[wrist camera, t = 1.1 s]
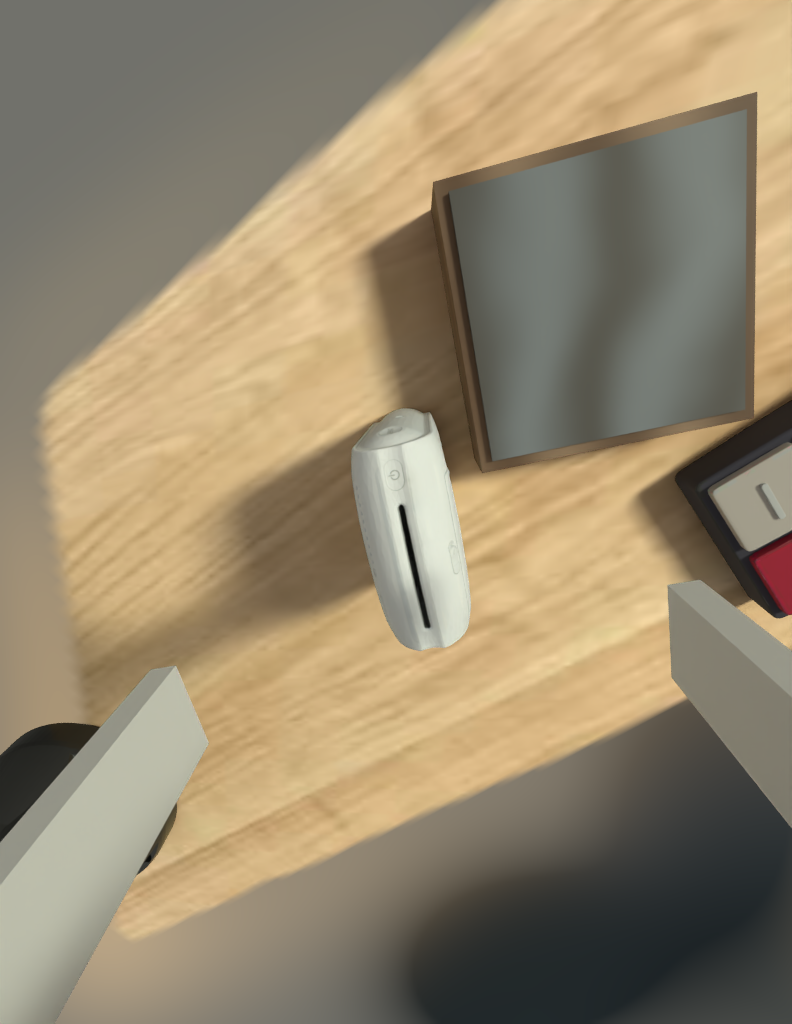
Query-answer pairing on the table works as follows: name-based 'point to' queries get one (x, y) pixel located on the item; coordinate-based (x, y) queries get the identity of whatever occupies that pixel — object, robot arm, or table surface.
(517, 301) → the mirror
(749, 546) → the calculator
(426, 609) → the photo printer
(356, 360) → the table surface
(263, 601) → the table surface
